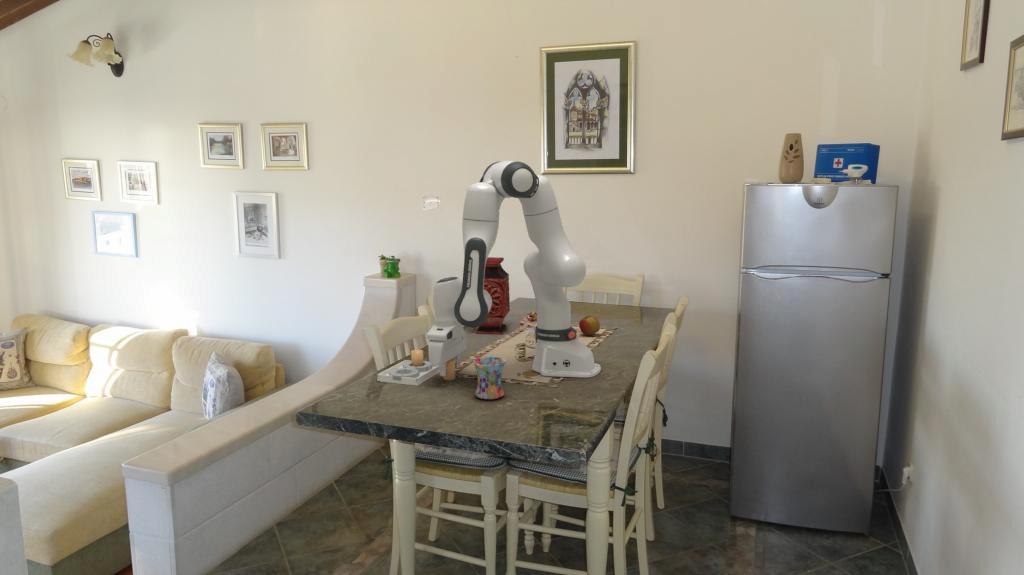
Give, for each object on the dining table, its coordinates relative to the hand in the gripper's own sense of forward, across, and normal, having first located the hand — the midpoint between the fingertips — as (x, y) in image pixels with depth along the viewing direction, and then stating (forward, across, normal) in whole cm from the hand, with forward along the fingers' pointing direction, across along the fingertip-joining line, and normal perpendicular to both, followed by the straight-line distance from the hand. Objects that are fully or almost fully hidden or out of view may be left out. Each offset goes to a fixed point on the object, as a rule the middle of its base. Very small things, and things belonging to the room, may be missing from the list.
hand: (449, 372), depth 213 cm
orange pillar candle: (+2, 0, 0) cm, 2 cm away
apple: (+2, -71, +28) cm, 76 cm away
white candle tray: (+2, +1, -13) cm, 13 cm away
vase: (+2, -66, -12) cm, 67 cm away
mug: (+2, +11, +18) cm, 22 cm away
